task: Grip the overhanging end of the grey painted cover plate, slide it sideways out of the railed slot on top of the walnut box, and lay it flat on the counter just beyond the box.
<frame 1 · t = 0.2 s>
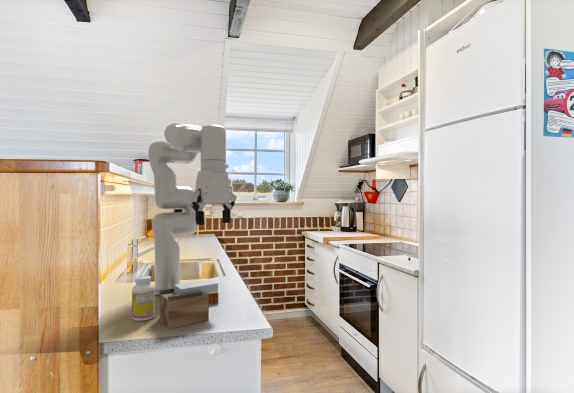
hand: (213, 223, 107), 30 cm above the worktop, tool pointing down, fingers open, 9 cm apart
carton: (203, 300, 133), on the worktop
cover plate: (196, 291, 112), point 8 cm above the worktop, touching slot box
supplement bottle: (143, 318, 112), on the worktop
slot box: (184, 319, 110), on the worktop
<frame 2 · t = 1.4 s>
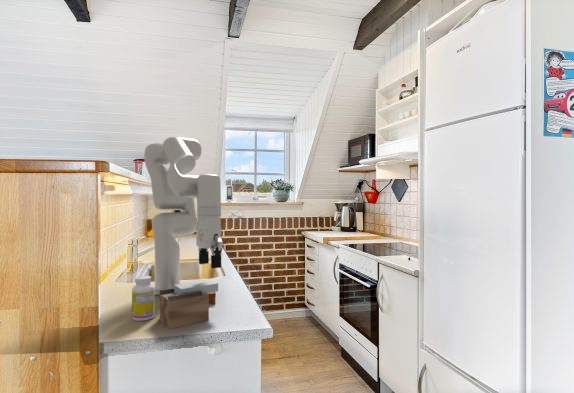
hand: (209, 265, 114), 16 cm above the worktop, tool pointing down, fingers open, 9 cm apart
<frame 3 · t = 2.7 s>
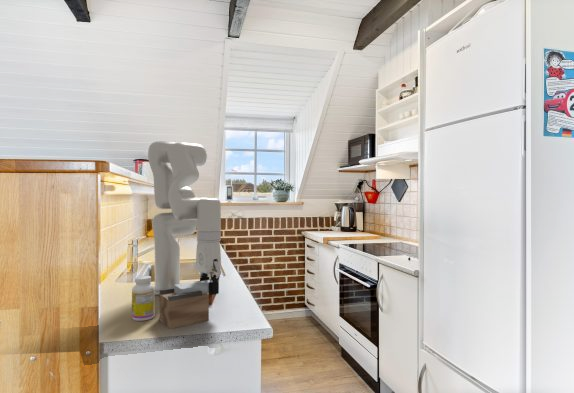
hand: (209, 291, 115), 7 cm above the worktop, tool pointing down, fingers closed on cover plate, 6 cm apart
cover plate: (196, 291, 112), point 8 cm above the worktop, touching gripper, slot box
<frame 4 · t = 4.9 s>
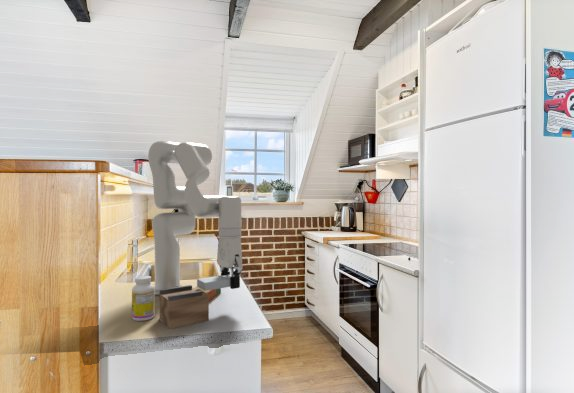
hand: (230, 285, 119), 8 cm above the worktop, tool pointing down, fingers closed on cover plate, 6 cm apart
cover plate: (218, 285, 117), point 9 cm above the worktop, touching gripper
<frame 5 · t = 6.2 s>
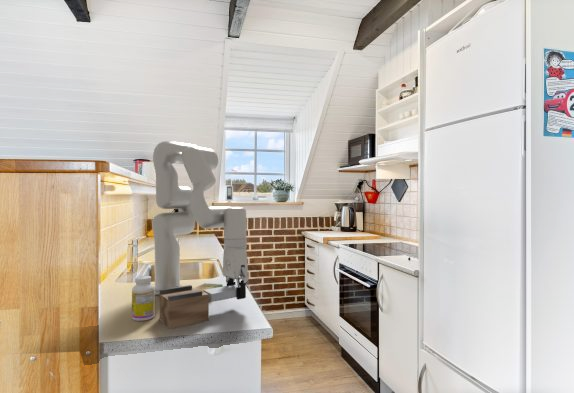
hand: (236, 295, 120), 4 cm above the worktop, tool pointing down, fingers closed on cover plate, 6 cm apart
cover plate: (224, 296, 118), point 5 cm above the worktop, touching gripper
when the fingers open (1 cm above the worktop, at t = 7.2 s): cover plate drops 2 cm, on the worktop.
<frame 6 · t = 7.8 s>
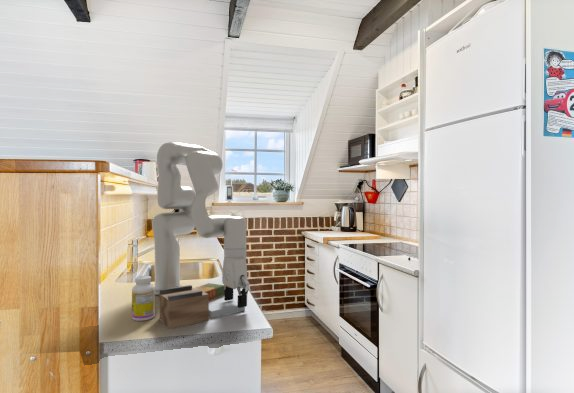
hand: (235, 303, 120), 2 cm above the worktop, tool pointing down, fingers open, 9 cm apart
cover plate: (224, 312, 118), on the worktop
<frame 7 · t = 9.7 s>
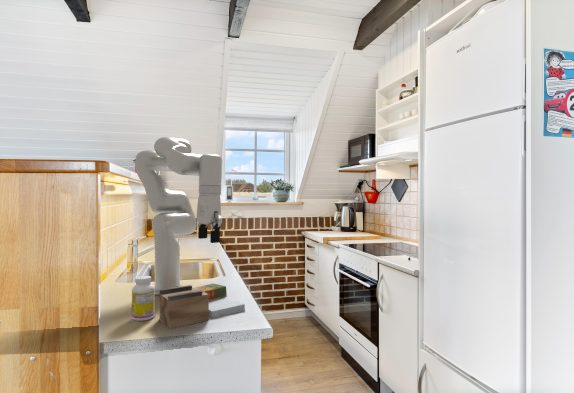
hand: (208, 240, 122), 23 cm above the worktop, tool pointing down, fingers open, 9 cm apart
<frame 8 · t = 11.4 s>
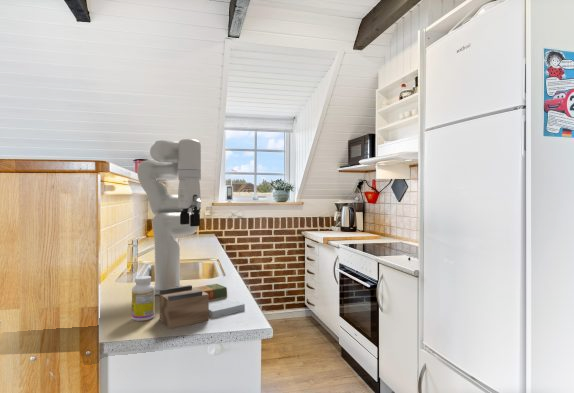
hand: (189, 225, 122), 28 cm above the worktop, tool pointing down, fingers open, 9 cm apart
at the end: cover plate inside the target area (0.1 cm from its centre), on the worktop; cover plate tilted 0°; the gripper is holding nothing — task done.
